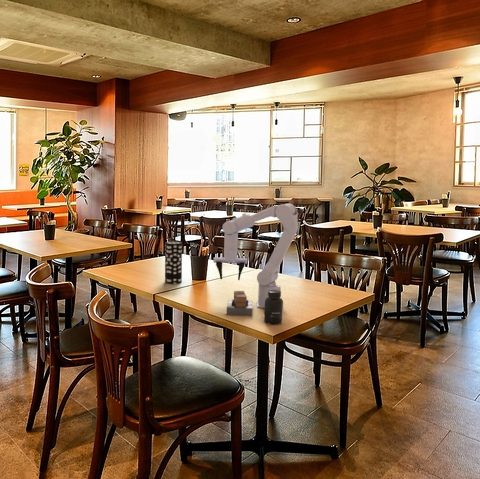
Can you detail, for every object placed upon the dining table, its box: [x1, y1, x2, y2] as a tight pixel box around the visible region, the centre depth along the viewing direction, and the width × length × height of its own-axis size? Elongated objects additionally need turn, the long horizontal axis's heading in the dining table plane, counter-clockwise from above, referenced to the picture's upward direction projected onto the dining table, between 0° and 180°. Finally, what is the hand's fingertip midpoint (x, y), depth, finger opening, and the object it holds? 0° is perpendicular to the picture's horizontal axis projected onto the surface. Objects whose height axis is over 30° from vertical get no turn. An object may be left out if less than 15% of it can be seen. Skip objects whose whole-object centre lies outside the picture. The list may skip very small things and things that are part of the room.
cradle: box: [226, 298, 253, 317], centre depth 188 cm, size 10×12×3 cm
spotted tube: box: [164, 241, 183, 285], centre depth 232 cm, size 8×8×20 cm
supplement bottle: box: [263, 290, 284, 326], centre depth 174 cm, size 7×7×12 cm
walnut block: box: [233, 290, 248, 307], centre depth 188 cm, size 9×4×6 cm, turn 7°
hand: (230, 279), depth 202 cm, fingers open, 7 cm apart
